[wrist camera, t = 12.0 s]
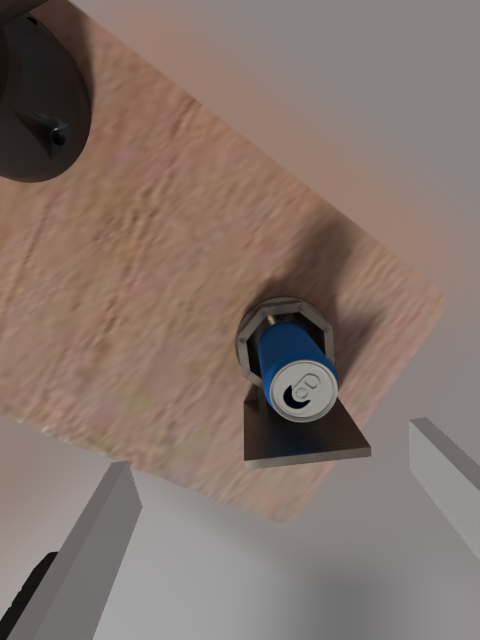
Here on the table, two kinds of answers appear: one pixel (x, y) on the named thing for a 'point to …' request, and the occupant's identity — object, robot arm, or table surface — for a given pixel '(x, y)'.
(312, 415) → the beverage can
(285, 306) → the cup bracket
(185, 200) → the table surface
